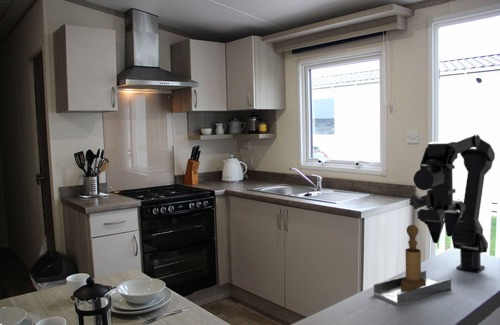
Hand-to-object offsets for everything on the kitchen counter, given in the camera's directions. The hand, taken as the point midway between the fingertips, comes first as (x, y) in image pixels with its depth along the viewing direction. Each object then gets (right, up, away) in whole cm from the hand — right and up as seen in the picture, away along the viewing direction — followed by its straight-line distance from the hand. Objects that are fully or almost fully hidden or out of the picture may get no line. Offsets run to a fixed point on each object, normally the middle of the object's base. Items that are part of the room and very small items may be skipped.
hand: (442, 239), depth 123 cm
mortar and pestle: (-10, -13, -4) cm, 17 cm away
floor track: (-10, -14, -4) cm, 18 cm away
